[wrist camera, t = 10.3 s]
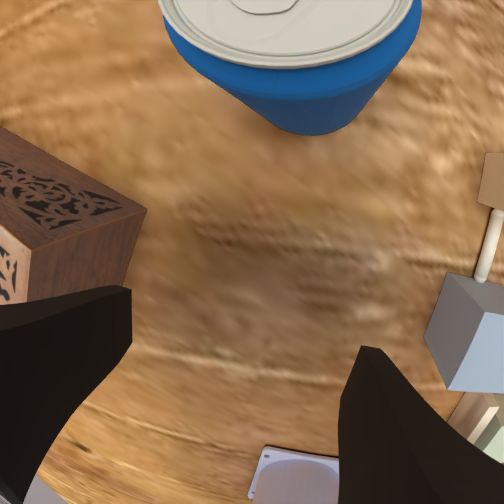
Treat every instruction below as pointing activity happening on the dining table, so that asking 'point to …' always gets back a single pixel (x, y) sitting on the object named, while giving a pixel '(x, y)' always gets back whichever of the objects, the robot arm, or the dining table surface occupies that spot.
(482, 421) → the rack
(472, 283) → the corded block
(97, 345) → the robot arm
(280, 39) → the beverage can
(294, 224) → the dining table surface
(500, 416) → the plain block
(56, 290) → the tissue box cover
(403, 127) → the dining table surface
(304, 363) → the dining table surface
